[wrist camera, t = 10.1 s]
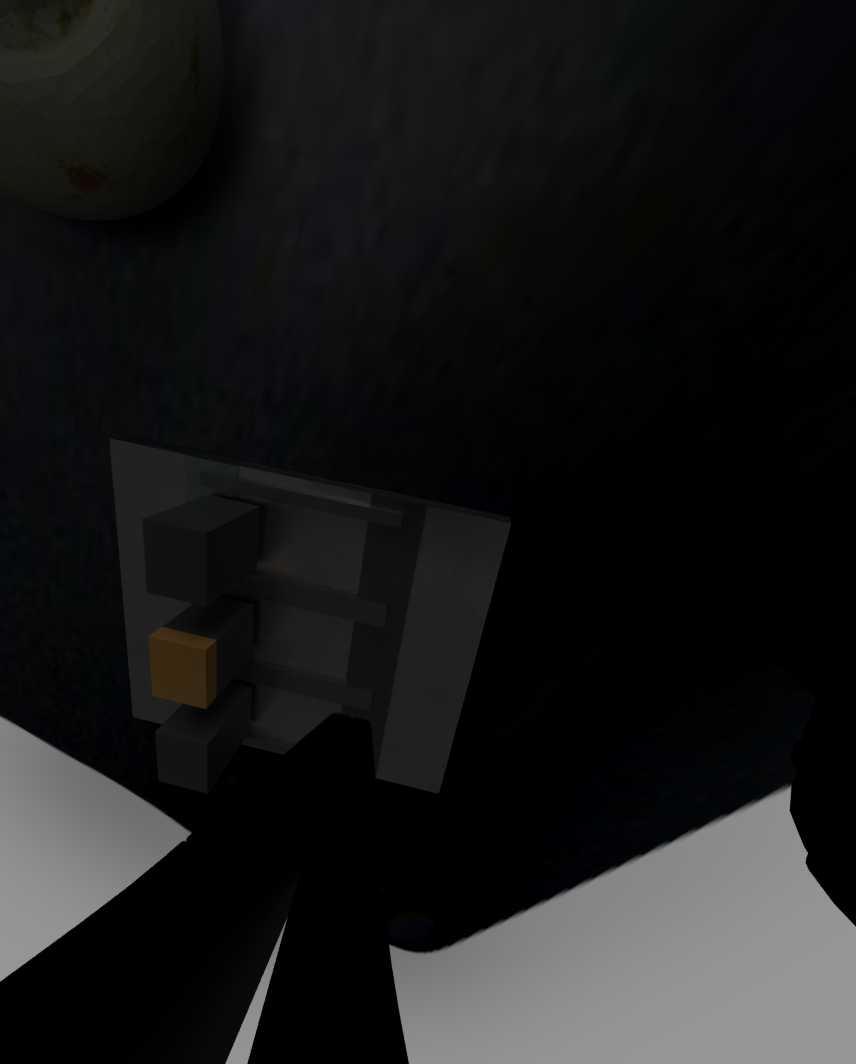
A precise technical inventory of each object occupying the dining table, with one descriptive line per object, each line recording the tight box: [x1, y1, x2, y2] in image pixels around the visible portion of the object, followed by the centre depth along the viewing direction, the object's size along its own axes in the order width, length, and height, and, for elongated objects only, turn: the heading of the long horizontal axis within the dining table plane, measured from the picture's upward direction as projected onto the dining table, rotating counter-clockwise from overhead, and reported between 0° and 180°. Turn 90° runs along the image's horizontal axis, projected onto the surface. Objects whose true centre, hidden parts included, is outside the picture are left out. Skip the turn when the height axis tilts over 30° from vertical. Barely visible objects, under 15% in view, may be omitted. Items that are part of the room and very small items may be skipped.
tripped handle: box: [149, 596, 255, 709], centre depth 18 cm, size 2×3×4 cm
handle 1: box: [142, 495, 260, 606], centre depth 17 cm, size 2×3×4 cm
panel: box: [110, 436, 511, 794], centre depth 20 cm, size 18×16×1 cm
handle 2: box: [155, 682, 252, 793], centre depth 20 cm, size 2×3×4 cm
